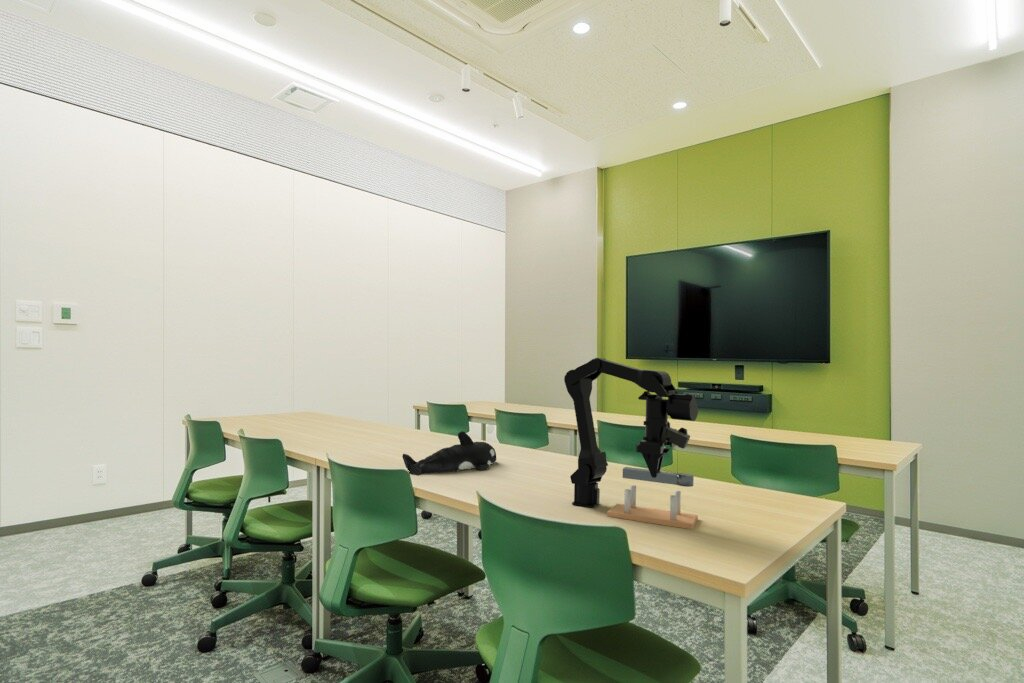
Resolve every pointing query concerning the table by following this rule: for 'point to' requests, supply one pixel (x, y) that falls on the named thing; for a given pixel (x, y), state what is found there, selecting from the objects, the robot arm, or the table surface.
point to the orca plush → (454, 457)
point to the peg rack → (653, 511)
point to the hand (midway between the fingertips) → (655, 476)
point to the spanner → (659, 476)
